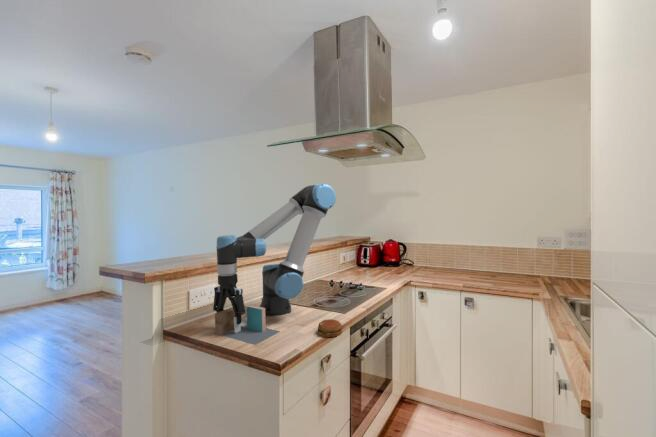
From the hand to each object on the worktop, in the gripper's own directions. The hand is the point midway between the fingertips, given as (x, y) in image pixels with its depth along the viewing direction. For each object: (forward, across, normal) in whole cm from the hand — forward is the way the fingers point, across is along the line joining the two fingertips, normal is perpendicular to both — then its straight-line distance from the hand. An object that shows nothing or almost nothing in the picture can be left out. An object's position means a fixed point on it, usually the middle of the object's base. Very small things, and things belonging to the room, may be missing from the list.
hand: (229, 330), depth 124 cm
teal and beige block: (0, -9, -6) cm, 11 cm away
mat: (+1, -8, -2) cm, 8 cm away
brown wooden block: (0, +1, -4) cm, 4 cm away
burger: (+2, -36, -18) cm, 40 cm away
